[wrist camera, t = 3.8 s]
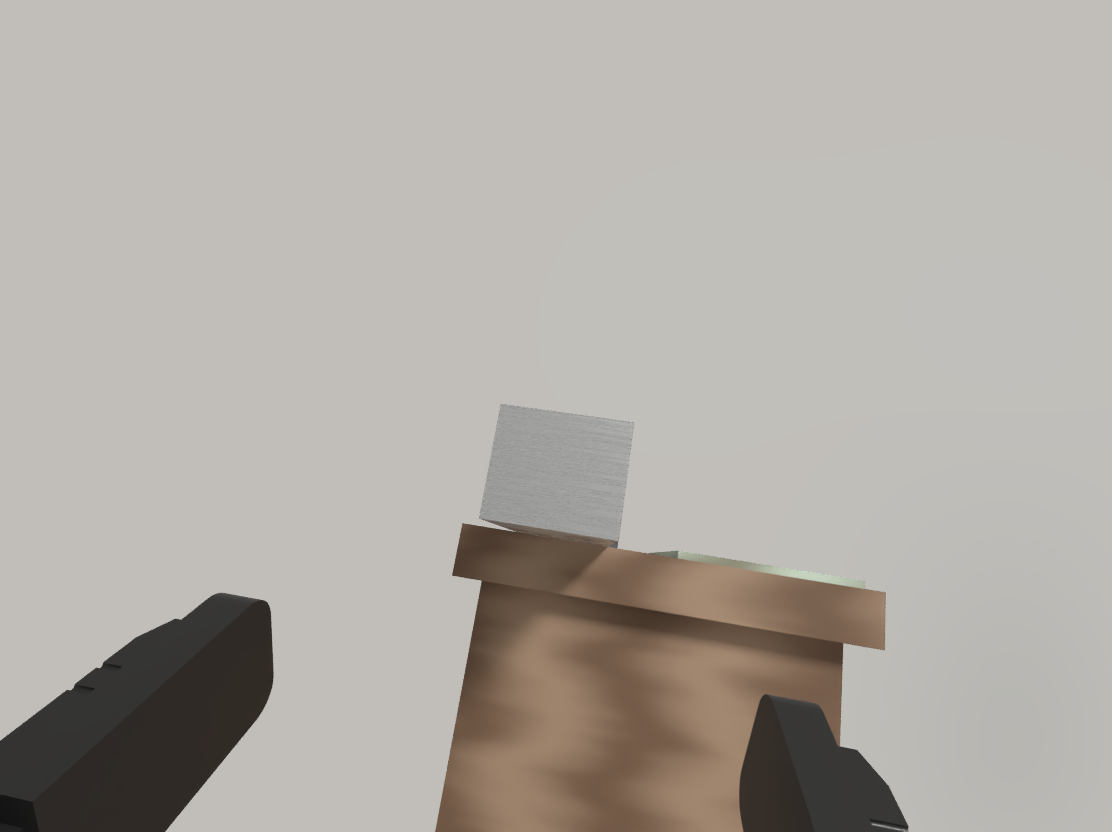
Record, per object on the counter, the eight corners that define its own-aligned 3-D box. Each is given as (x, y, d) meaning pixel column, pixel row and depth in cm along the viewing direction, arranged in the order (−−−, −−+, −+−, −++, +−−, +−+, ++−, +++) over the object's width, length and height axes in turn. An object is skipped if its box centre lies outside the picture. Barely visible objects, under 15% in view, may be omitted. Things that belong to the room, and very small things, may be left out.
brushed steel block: (449, 513, 14) (480, 364, 15) (530, 539, 33) (541, 473, 34) (649, 545, 13) (667, 389, 14) (613, 552, 33) (622, 486, 34)
